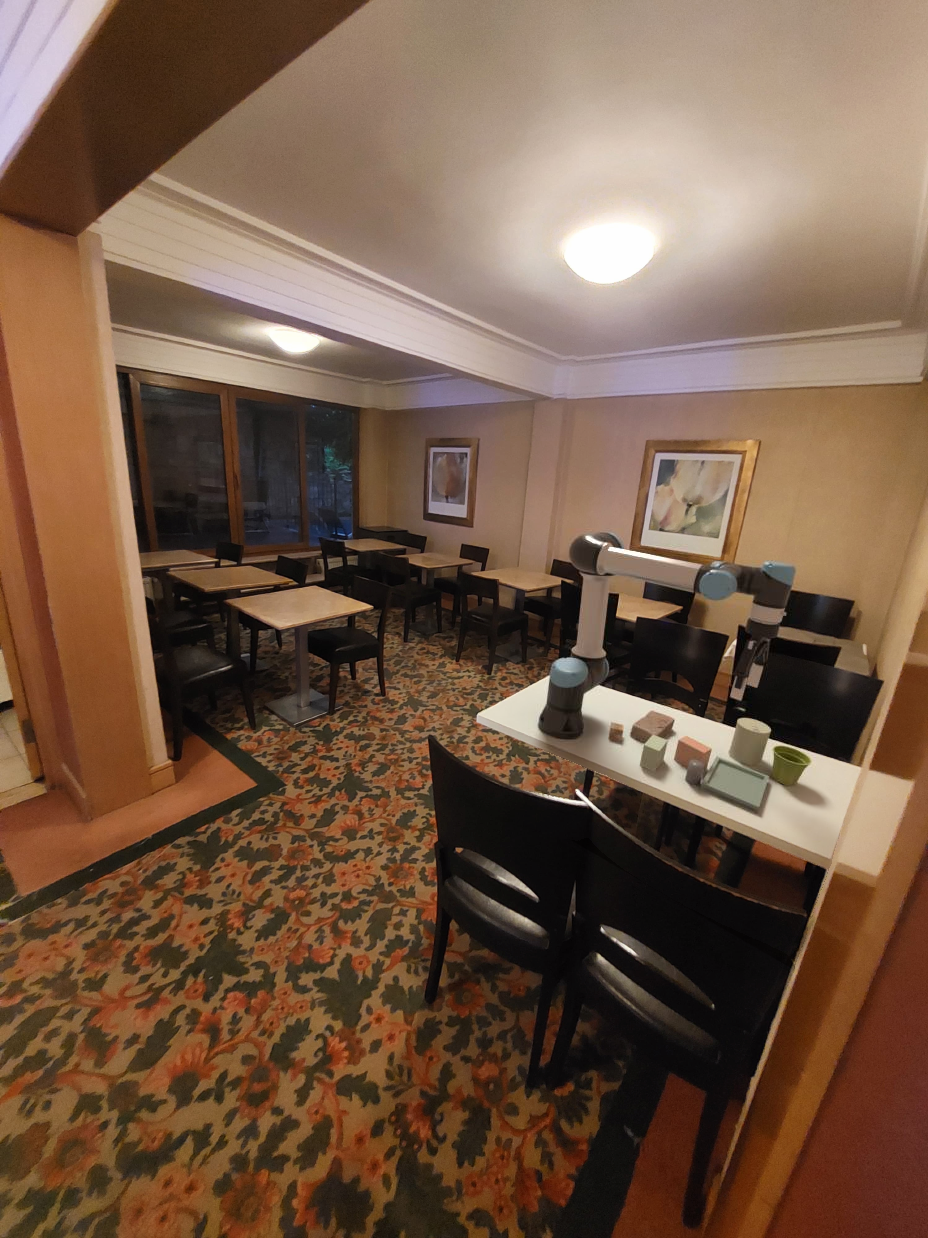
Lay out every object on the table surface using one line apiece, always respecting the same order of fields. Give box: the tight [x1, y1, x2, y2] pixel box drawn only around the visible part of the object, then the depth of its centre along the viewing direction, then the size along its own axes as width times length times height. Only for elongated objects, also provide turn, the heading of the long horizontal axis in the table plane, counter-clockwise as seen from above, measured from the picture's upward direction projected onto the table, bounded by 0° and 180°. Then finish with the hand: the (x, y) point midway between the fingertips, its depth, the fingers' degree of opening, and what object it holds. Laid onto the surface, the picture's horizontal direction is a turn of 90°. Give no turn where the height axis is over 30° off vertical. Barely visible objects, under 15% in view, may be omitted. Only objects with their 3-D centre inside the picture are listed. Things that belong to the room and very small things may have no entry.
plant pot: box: [771, 744, 813, 787], centre depth 135 cm, size 9×9×9 cm
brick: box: [629, 709, 676, 744], centre depth 157 cm, size 17×8×5 cm, turn 135°
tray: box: [699, 755, 770, 814], centre depth 132 cm, size 14×18×2 cm
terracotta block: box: [673, 735, 713, 771], centre depth 140 cm, size 4×8×7 cm, turn 35°
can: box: [728, 717, 772, 767], centre depth 145 cm, size 9×9×12 cm
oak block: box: [608, 721, 625, 742], centre depth 153 cm, size 4×4×4 cm
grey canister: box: [684, 760, 705, 787], centre depth 132 cm, size 4×4×6 cm
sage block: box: [639, 735, 669, 772], centre depth 140 cm, size 4×8×7 cm, turn 141°
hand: (744, 692), depth 130 cm, fingers open, 13 cm apart
